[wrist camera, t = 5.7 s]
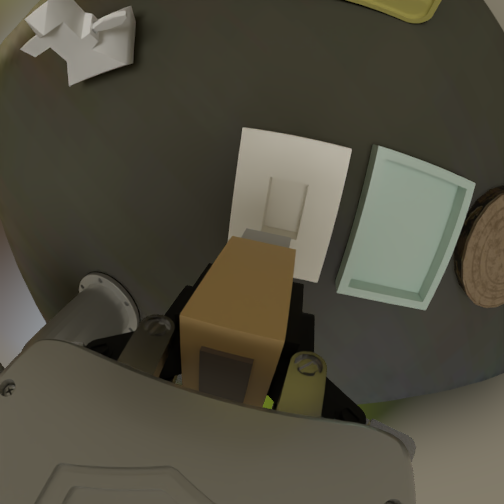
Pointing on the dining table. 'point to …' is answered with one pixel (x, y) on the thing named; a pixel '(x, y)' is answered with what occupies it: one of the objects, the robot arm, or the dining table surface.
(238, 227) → the block
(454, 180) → the tray
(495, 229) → the wood slice coaster
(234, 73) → the dining table surface
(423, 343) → the dining table surface
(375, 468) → the robot arm
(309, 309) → the dining table surface
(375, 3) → the plastic component
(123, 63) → the white faceted figurine
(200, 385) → the tan rectangular block
